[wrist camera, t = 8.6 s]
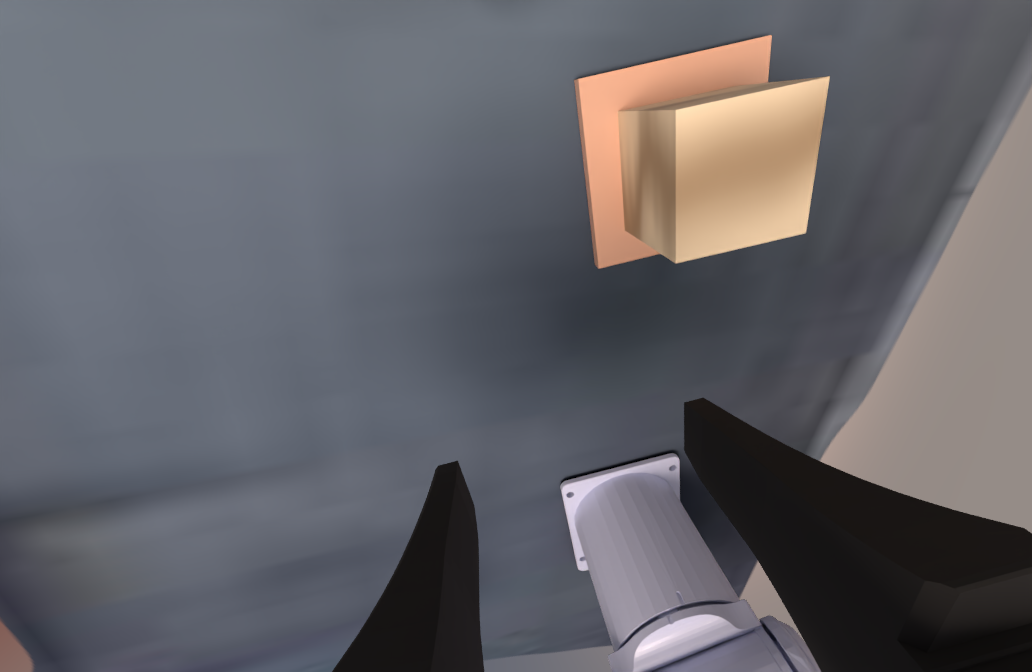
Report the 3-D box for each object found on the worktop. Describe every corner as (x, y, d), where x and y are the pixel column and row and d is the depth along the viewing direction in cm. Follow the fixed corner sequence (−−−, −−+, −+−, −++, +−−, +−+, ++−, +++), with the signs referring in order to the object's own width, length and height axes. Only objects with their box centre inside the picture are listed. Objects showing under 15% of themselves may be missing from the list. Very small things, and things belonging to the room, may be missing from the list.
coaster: (748, 227, 21) (755, 230, 21) (594, 264, 21) (598, 268, 20) (762, 37, 17) (771, 34, 17) (573, 80, 17) (578, 78, 16)
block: (726, 207, 20) (805, 233, 15) (624, 230, 20) (675, 263, 15) (733, 86, 17) (829, 76, 13) (617, 111, 17) (675, 109, 13)
